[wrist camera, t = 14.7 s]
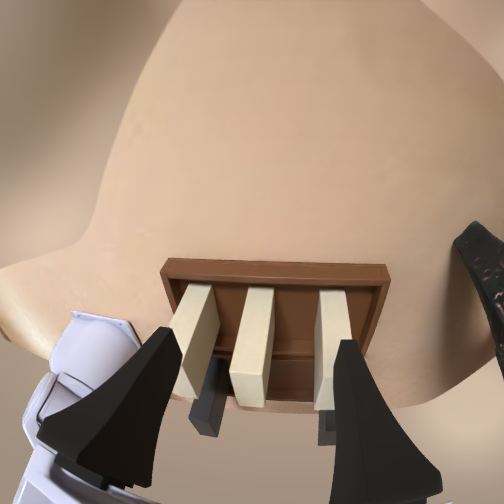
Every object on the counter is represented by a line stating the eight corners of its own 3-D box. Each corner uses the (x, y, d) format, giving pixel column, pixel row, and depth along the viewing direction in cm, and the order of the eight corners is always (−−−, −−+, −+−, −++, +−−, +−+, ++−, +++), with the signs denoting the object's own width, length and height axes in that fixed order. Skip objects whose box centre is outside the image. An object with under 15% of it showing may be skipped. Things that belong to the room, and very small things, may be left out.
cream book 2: (252, 327, 25) (237, 405, 18) (249, 285, 22) (228, 371, 15) (274, 328, 24) (264, 408, 18) (274, 286, 22) (262, 374, 15)
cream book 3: (314, 329, 24) (313, 410, 17) (319, 287, 21) (323, 376, 14) (336, 330, 23) (340, 410, 17) (344, 288, 21) (356, 376, 14)
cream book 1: (200, 322, 25) (174, 395, 19) (189, 282, 23) (153, 359, 16) (220, 324, 25) (198, 399, 18) (212, 283, 22) (181, 364, 16)
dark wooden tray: (208, 380, 33) (204, 392, 31) (192, 336, 28) (187, 351, 26) (343, 388, 30) (344, 401, 28) (361, 345, 25) (363, 360, 23)
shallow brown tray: (190, 331, 27) (185, 346, 26) (168, 257, 22) (159, 271, 20) (362, 340, 24) (364, 356, 23) (385, 264, 19) (391, 279, 18)
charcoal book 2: (319, 383, 29) (317, 445, 22) (325, 360, 26) (325, 431, 20) (336, 383, 29) (336, 445, 22) (344, 360, 26) (347, 430, 19)
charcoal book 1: (215, 376, 31) (199, 434, 24) (207, 353, 28) (187, 418, 22) (231, 378, 31) (217, 437, 24) (225, 355, 28) (208, 422, 21)
